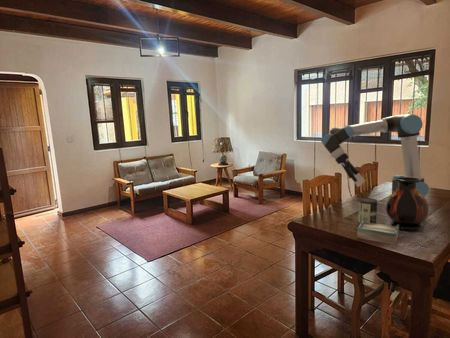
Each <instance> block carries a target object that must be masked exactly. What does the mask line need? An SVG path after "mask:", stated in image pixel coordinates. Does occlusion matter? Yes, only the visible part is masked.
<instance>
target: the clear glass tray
mask: <svg viewBox="0 0 450 338" xmlns="http://www.w3.org/2000/svg"><path fill="white" fill-rule="evenodd" d="M356 230H357V231H356V238H357V239H362V240H367V241H372V242H379V243H383V244H390V245H396V244H397V241H398V238H399V235H400V229H399V224H397V226H396V227H395V226H391V225H388V224H382V223H381V224H380V223H376V224H375V223H368V222H365V219H363V221H362V222H361V223H359V225H358V227H357V228H356Z"/></svg>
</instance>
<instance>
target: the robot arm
mask: <svg viewBox="0 0 450 338" xmlns="http://www.w3.org/2000/svg"><path fill="white" fill-rule="evenodd" d="M423 125H424V123H423V120H422V118H421V117H420V116H418V115H417V114H412V113H406V114H405V113H404V114H402V113H401V114H395V115H392V116H387V117H383V118H381V119H380V120H374V121H367V122H363V123H357V124H352V125H350V124H349V125H348V124H347V125H345V126H342V127H341V126H340V127H333V128H331V129H330V130H329V132H328V133H327V134H325V135H324V136H323V137H321V139H320V141H321V143H322V145H323V146H324V147H325V149H326V150H327V151H328V152H329V154H330V157H331V158H333V159H334V160H335V162H336V164H338V165H340V166H341V167H342V168H343V169H344V171H345V173H346V175H347V176H348V179H351V181H353V184H354V185H356V187H357V188H359V187H360V186H362V185H363V183H365V182H366V180H365V179H364V177H363V176H362V175H361V174H360V170H358V169H357V168H356V167H355V166H354V165H353V163H351V161H350V160H349V157H350V156H349V155H348V154H347V153H346V152H345V149H343V148H342V146H341V144H343V143H344V142H347V140H349V139H351V138H352V137H353V138H354V137H358V136H363V135H369V134H375V133H380V132H381V133H396V134H397V139H400V142H401V150H402V151H401V152H402V162H403V170H404V174H394V175H393V176H392V179H391V194H392V193H393V192H394V191H395V190H396V189H397V188H398V182H396V181H394V179H395V178H400V177H410V178H418V179H420V180H421V181H420V182H418V183H417V185H416V188H417V189H418V191H419V192H420V193H421V194H422V195H423V196H424V197H425V198H426V196H428V194H429V193H430V187H429V185H428V184H427V183H426V182H425V177H424V175H422V174H421V173H422V172H421V164H420V156H419V154H420V153H419V144H418V137H419V136H420V132H421V130H422V128H423Z"/></svg>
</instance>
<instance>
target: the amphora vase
mask: <svg viewBox="0 0 450 338" xmlns="http://www.w3.org/2000/svg"><path fill="white" fill-rule="evenodd" d="M394 181H396V182H398V188H397V189H396V190H395V191H394V192H393V193H392V192H391V194H390V195H389V196H388V198H387V200H386V204H385V214H386V215H387V217H388V218H389V220H391V221H390V222H389V223H390V226H395V227H396V226H397V224H399V230H402V231H408V232H409V231H411V232H414V231H415V232H416V231H420V230H422V229H424V228H425V226H424V222H426V220H427V219H428V218H429V216H430V210H431V209H430V205H429V202H428V200H427V198H426V196H425V197H424V196H423V195H422V194H421V193H420V192H419V191H418V189H417V188H416V185H417V183H418V182H420V181H421V180H420V179H418V178H410V177H400V178H395V179H394Z"/></svg>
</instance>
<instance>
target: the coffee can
mask: <svg viewBox="0 0 450 338" xmlns="http://www.w3.org/2000/svg"><path fill="white" fill-rule="evenodd" d="M377 210H378V200H377V199H375V198H371V197H361V198H358V216H357V217H358V219H357V220H358V221H357V222H358V223H359V224H360V223H361V222H362V221H363V219H365V222H368V223H375V224H377V219H378V218H377V215H378V214H377V212H378V211H377Z"/></svg>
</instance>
